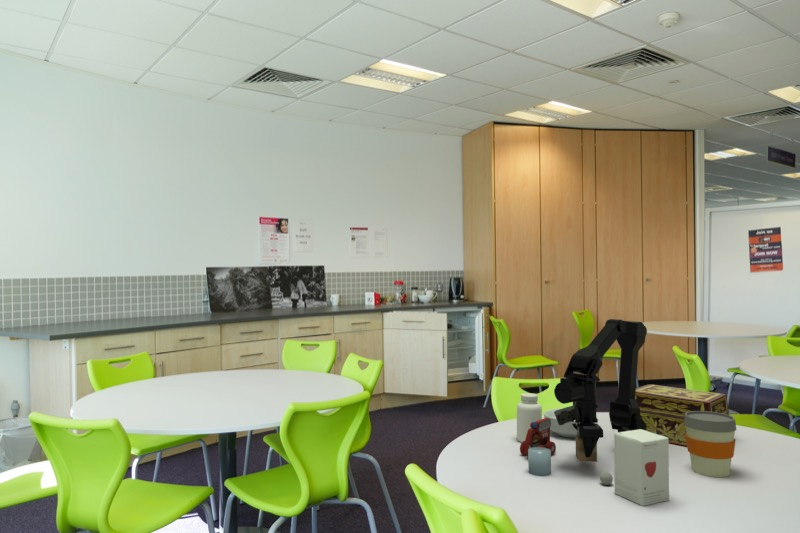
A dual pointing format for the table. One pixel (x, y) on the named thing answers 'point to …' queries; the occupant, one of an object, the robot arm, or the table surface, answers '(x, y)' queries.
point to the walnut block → (581, 453)
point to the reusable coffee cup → (710, 442)
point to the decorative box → (674, 409)
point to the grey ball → (606, 478)
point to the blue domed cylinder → (539, 461)
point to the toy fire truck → (538, 437)
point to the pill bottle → (527, 414)
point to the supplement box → (641, 466)
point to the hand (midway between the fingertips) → (586, 454)
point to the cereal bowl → (562, 430)
